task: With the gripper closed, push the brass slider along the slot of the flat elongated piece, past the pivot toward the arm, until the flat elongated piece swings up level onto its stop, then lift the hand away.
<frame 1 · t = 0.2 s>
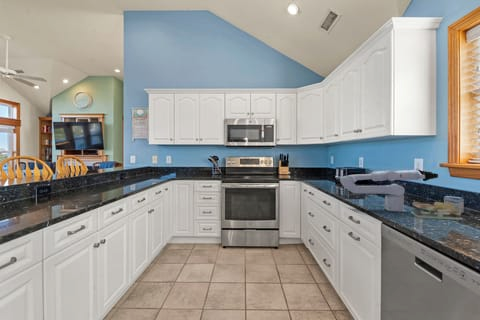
hand: (434, 174, 145), 22 cm above the worktop, tool horizontal, fingers open, 7 cm apart
slider: (442, 209, 134), point 4 cm above the worktop, tilted 10°, touching flat elongated piece
medicine box: (453, 212, 145), on the worktop
stand: (435, 216, 135), on the worktop
flat elongated piece: (435, 208, 135), point 4 cm above the worktop, hinge at 9.1°, touching slider, stand
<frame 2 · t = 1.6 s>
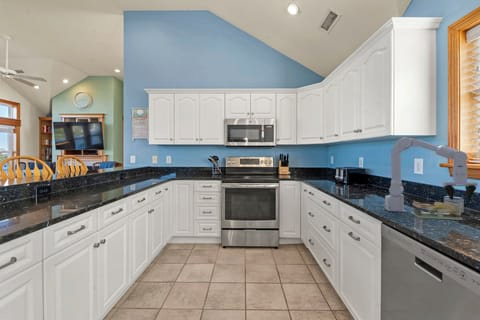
hand: (459, 199, 132), 9 cm above the worktop, tool pointing down, fingers open, 7 cm apart
flat elongated piece: (435, 208, 135), point 4 cm above the worktop, hinge at 9.1°, touching slider
everything else where it was.
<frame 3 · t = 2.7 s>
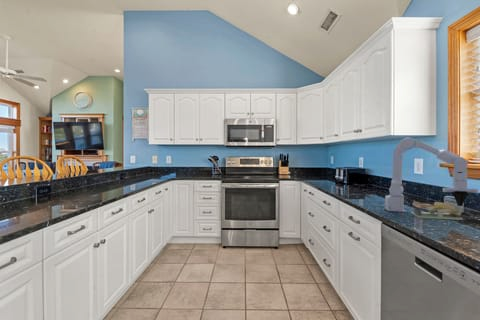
hand: (459, 205, 132), 6 cm above the worktop, tool pointing down, fingers closed
nothing on the worktop moved.
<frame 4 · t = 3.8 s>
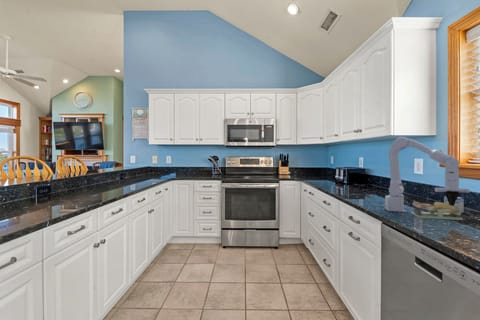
hand: (451, 205, 133), 6 cm above the worktop, tool pointing down, fingers closed
slider: (442, 209, 134), point 4 cm above the worktop, tilted 10°, touching flat elongated piece, gripper
everything else where it was.
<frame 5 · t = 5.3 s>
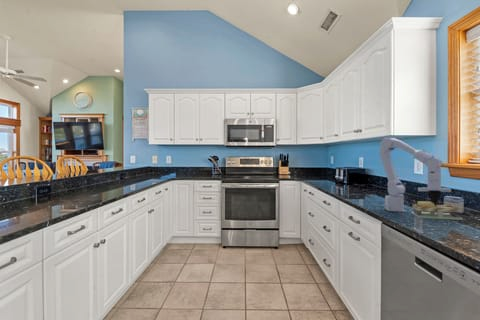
hand: (434, 204, 136), 6 cm above the worktop, tool pointing down, fingers closed
slider: (425, 207, 137), point 4 cm above the worktop, touching gripper
flat elongated piece: (435, 208, 135), point 4 cm above the worktop, hinge at -1.1°
everything else where it was.
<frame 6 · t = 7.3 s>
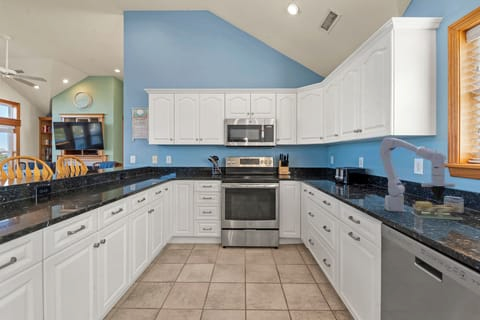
hand: (437, 200, 135), 9 cm above the worktop, tool pointing down, fingers closed
slider: (423, 207, 137), point 4 cm above the worktop, touching flat elongated piece
flat elongated piece: (435, 208, 135), point 4 cm above the worktop, hinge at -1.1°, touching slider
everything else where it was.
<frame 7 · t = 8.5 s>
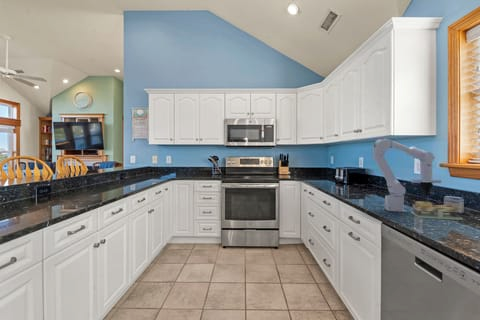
hand: (426, 195, 148), 9 cm above the worktop, tool pointing down, fingers closed
nothing on the worktop moved.
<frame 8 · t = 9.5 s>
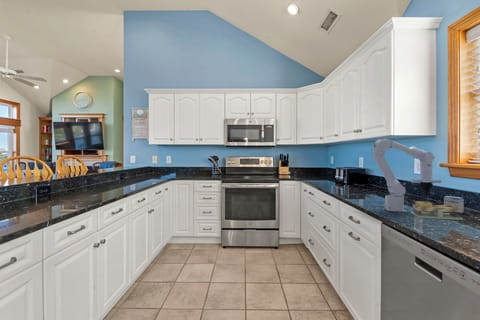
hand: (426, 195, 148), 9 cm above the worktop, tool pointing down, fingers closed
nothing on the worktop moved.
at the end: flat elongated piece at -1° (first picture: +9°); slider 0.2 cm from the target spot, point 4.4 cm above the worktop; the gripper is holding nothing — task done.
